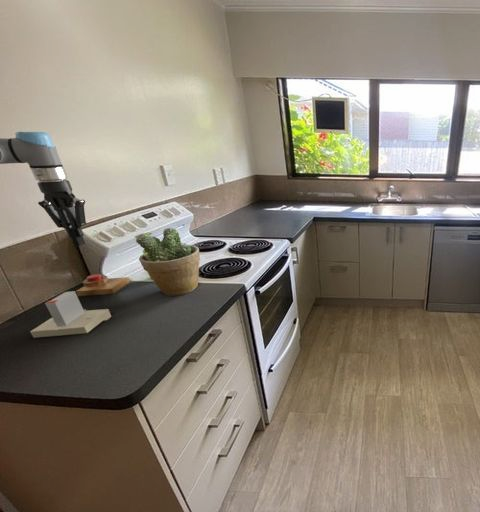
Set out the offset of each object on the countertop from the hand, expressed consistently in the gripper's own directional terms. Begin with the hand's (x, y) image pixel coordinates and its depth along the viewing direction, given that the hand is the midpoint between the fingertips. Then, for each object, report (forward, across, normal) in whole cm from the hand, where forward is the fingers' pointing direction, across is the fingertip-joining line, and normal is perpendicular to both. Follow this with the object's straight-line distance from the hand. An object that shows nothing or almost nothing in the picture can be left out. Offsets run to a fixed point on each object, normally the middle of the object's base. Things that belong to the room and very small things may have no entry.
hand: (80, 244), depth 107 cm
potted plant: (+19, +33, -6) cm, 38 cm away
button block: (+18, +3, -1) cm, 19 cm away
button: (+15, 0, 0) cm, 15 cm away
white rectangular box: (+15, +12, -28) cm, 34 cm away
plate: (+18, +12, -28) cm, 36 cm away
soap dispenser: (+19, +19, +6) cm, 27 cm away
